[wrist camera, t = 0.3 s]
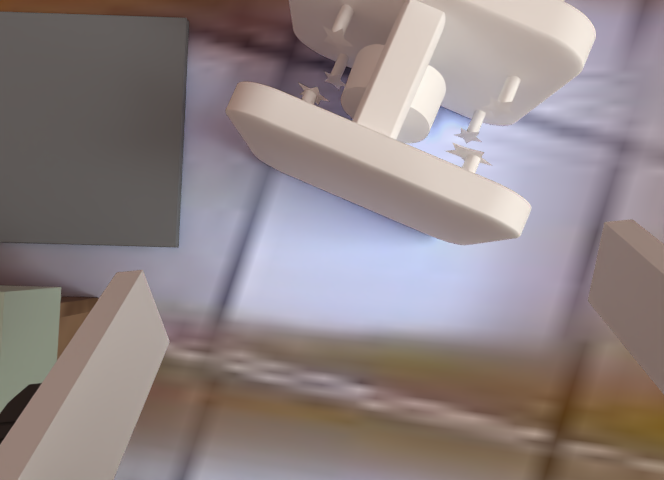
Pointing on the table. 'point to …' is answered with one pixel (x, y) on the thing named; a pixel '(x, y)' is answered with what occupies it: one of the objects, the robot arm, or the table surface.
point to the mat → (91, 128)
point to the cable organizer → (415, 103)
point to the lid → (27, 337)
